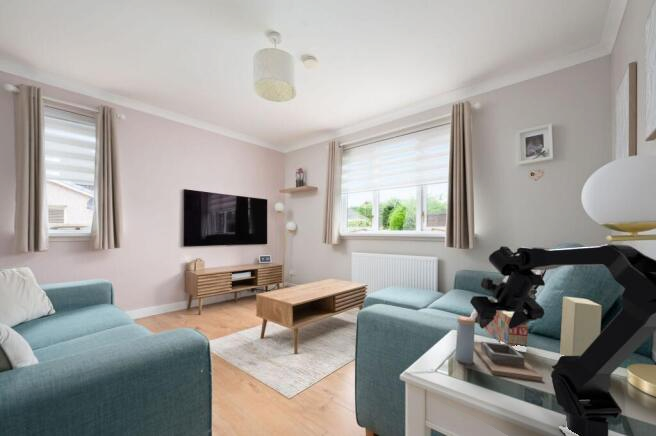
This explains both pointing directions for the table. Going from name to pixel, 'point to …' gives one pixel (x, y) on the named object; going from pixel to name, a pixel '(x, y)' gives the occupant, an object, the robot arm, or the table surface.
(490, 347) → the jig board
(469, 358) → the peach-capped cylinder
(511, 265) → the robot arm
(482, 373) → the table surface
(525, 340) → the stack of blocks
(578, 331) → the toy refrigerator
